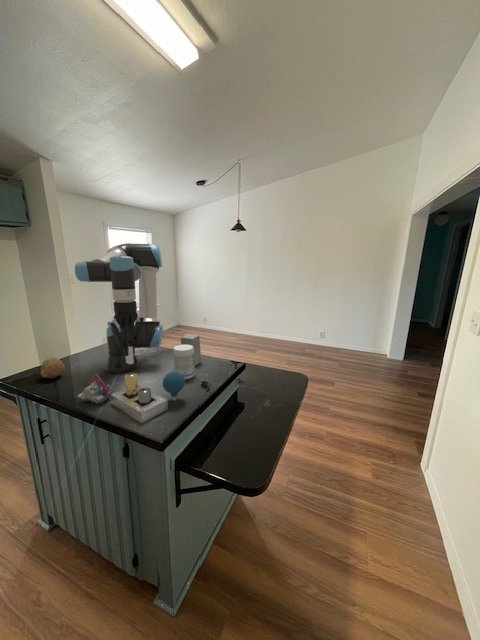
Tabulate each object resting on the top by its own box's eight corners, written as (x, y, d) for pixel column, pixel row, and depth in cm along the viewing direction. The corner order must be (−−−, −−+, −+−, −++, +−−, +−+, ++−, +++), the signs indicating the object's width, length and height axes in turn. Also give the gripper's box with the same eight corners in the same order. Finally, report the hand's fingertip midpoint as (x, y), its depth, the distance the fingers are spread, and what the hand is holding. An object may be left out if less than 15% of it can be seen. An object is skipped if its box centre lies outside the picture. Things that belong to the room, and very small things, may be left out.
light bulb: (172, 393, 107) (171, 366, 104) (189, 397, 104) (188, 370, 101) (159, 403, 99) (157, 374, 97) (176, 408, 96) (175, 378, 94)
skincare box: (201, 362, 140) (201, 335, 137) (193, 367, 134) (193, 338, 131) (189, 359, 144) (188, 333, 141) (181, 364, 138) (180, 336, 134)
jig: (111, 403, 98) (109, 385, 96) (137, 393, 107) (135, 375, 105) (142, 423, 87) (140, 402, 85) (167, 409, 95) (166, 389, 94)
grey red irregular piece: (122, 388, 105) (104, 374, 96) (105, 414, 99) (85, 401, 90) (102, 383, 109) (83, 369, 101) (85, 408, 103) (64, 395, 94)
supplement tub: (197, 377, 122) (197, 348, 119) (178, 382, 117) (177, 352, 114) (189, 370, 130) (189, 343, 127) (171, 374, 125) (170, 346, 122)
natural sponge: (70, 373, 124) (67, 354, 122) (58, 382, 115) (55, 361, 113) (51, 373, 123) (48, 354, 121) (37, 382, 115) (34, 361, 112)
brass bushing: (124, 403, 99) (122, 375, 96) (135, 399, 102) (133, 371, 99) (131, 407, 96) (128, 378, 93) (141, 402, 100) (139, 374, 97)
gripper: (112, 303, 83) (118, 371, 88) (147, 299, 93) (150, 360, 98) (101, 301, 87) (107, 365, 92) (135, 298, 98) (139, 355, 103)
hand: (129, 362), depth 95 cm, fingers closed
